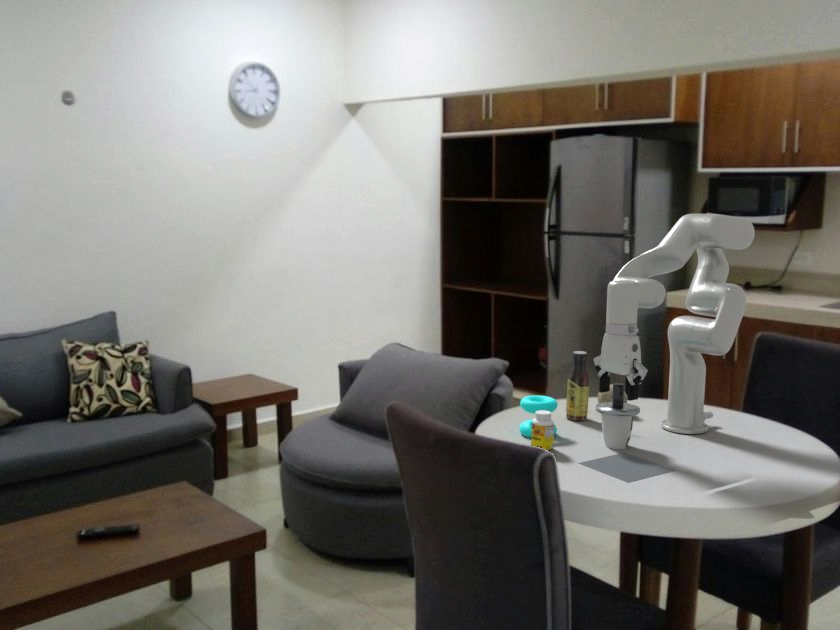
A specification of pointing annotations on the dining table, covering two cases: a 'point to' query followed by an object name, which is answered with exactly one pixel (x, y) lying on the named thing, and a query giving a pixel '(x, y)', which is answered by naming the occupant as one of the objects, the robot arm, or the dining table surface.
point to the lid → (618, 404)
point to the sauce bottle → (578, 388)
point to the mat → (627, 467)
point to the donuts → (533, 405)
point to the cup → (617, 430)
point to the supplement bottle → (542, 430)
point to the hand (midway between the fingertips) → (618, 395)
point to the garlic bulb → (609, 396)
